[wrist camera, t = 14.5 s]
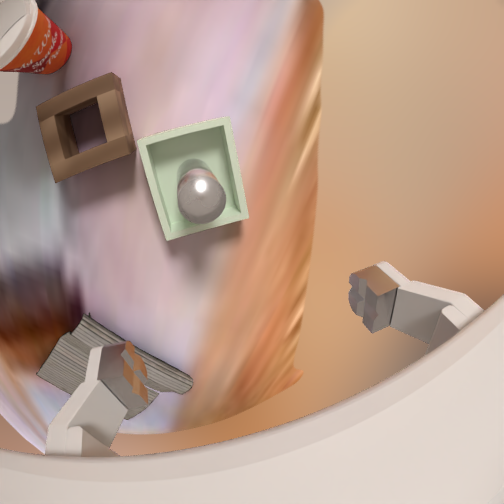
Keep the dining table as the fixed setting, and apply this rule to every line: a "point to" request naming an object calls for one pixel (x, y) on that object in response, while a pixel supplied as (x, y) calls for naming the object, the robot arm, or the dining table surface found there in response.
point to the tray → (187, 147)
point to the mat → (77, 356)
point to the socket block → (62, 135)
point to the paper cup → (30, 39)
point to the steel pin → (199, 192)
